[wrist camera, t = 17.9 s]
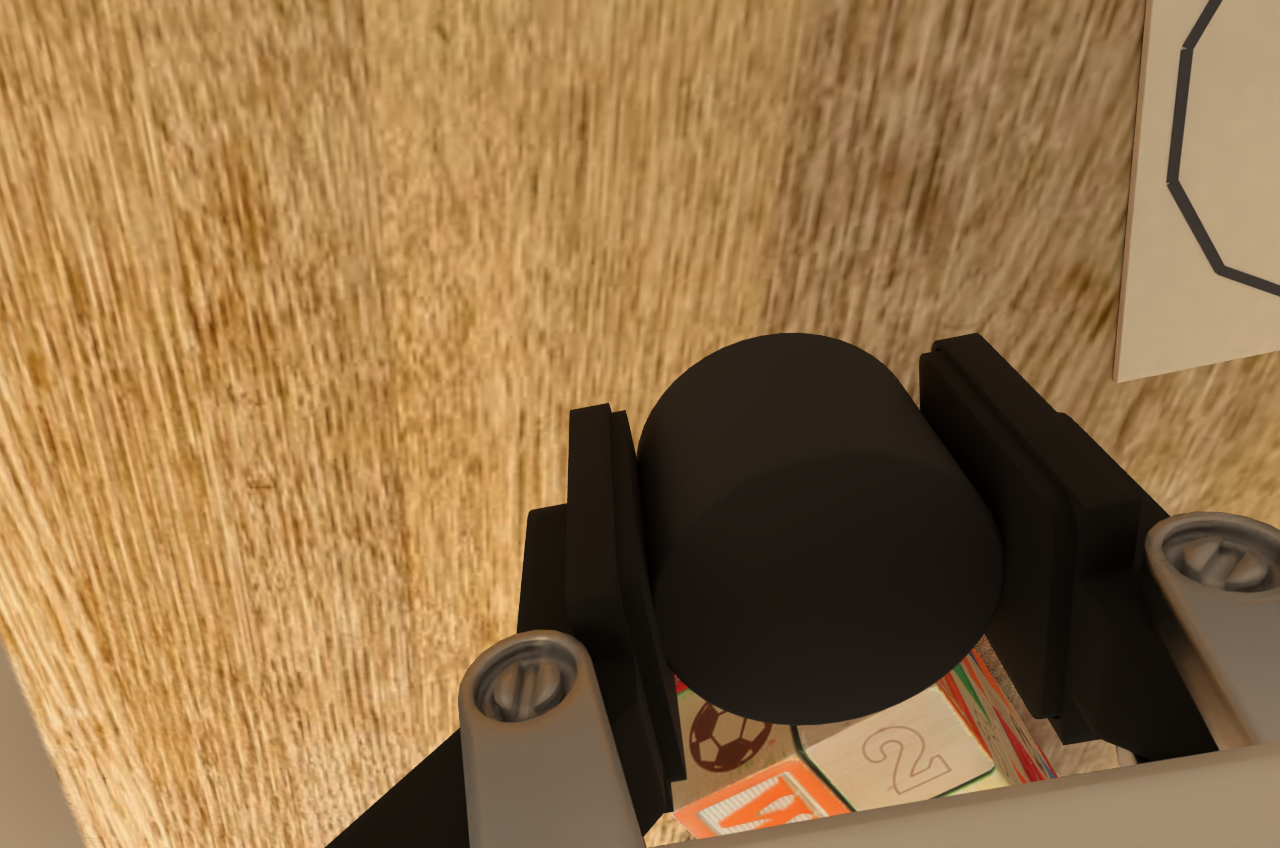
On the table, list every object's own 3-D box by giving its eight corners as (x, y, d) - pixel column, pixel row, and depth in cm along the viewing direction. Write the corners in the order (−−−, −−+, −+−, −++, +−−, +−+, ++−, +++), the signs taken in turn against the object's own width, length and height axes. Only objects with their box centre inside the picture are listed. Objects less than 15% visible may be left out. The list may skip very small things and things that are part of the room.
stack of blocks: (1047, 749, 36) (1242, 1092, 26) (913, 810, 38) (1045, 1158, 27) (798, 387, 27) (943, 689, 16) (634, 487, 28) (667, 825, 18)
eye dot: (610, 362, 11) (618, 491, 9) (913, 303, 11) (1015, 417, 8) (661, 591, 13) (680, 752, 11) (919, 544, 13) (1003, 697, 10)
